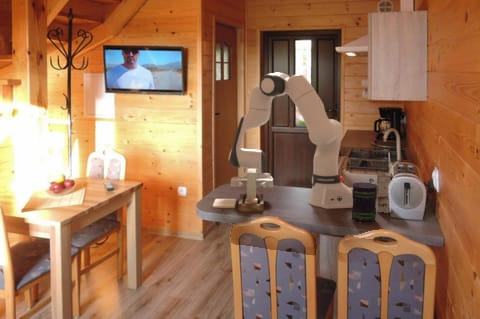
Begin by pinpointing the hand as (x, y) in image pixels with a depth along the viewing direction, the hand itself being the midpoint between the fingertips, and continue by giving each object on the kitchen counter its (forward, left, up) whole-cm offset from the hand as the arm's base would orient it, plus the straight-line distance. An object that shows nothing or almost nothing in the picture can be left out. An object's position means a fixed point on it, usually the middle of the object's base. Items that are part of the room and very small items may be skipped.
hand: (251, 185), depth 227 cm
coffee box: (-59, +6, -9) cm, 60 cm away
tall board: (0, -1, -9) cm, 9 cm away
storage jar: (-47, +22, -9) cm, 53 cm away
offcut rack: (0, +2, -9) cm, 9 cm away
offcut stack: (0, +8, -9) cm, 12 cm away
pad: (+13, -1, -9) cm, 15 cm away
